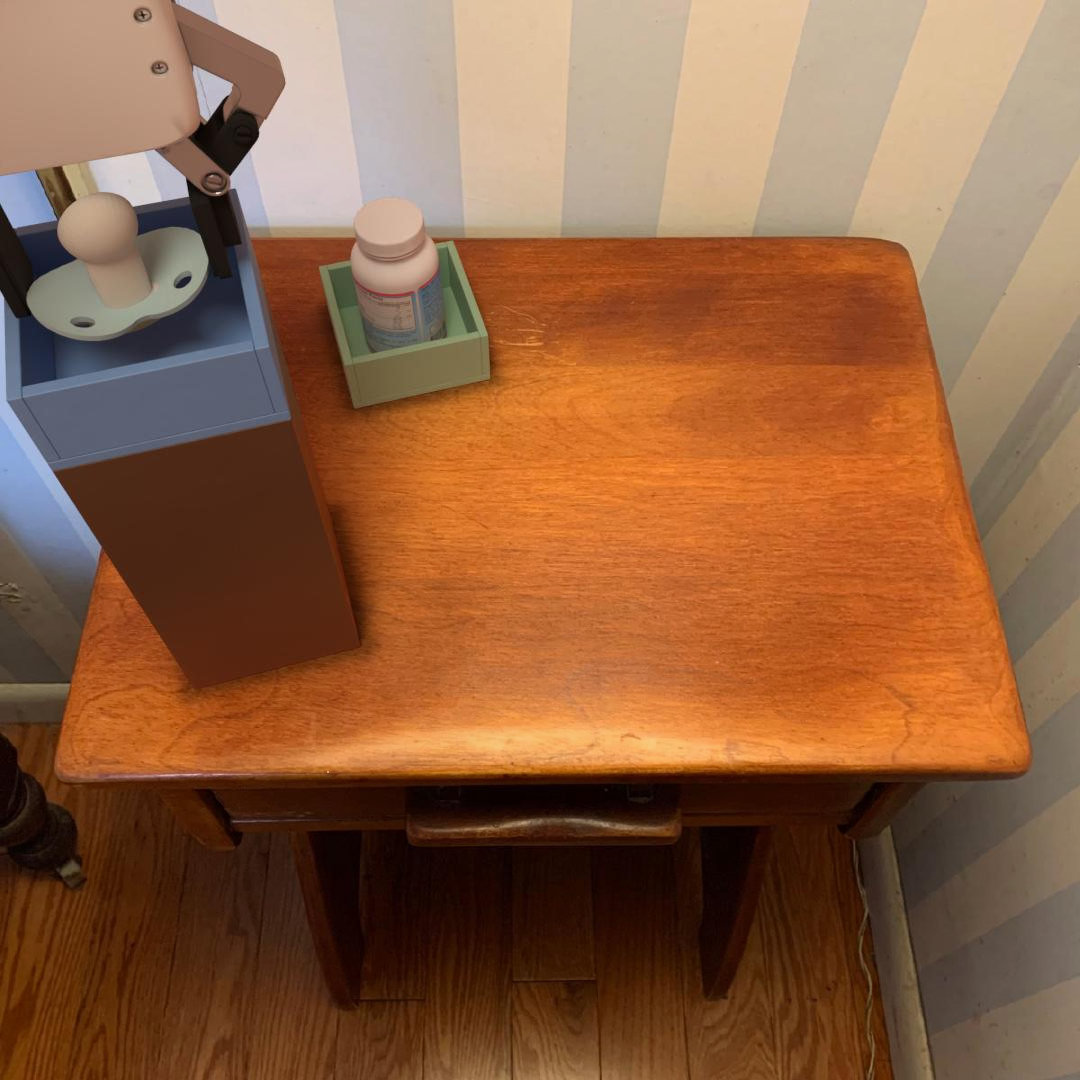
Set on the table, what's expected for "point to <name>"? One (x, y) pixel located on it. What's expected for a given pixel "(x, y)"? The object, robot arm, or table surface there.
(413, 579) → the table surface
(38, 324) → the blue bin
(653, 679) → the table surface
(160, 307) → the pacifier
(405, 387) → the green bin
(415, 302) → the pill bottle
